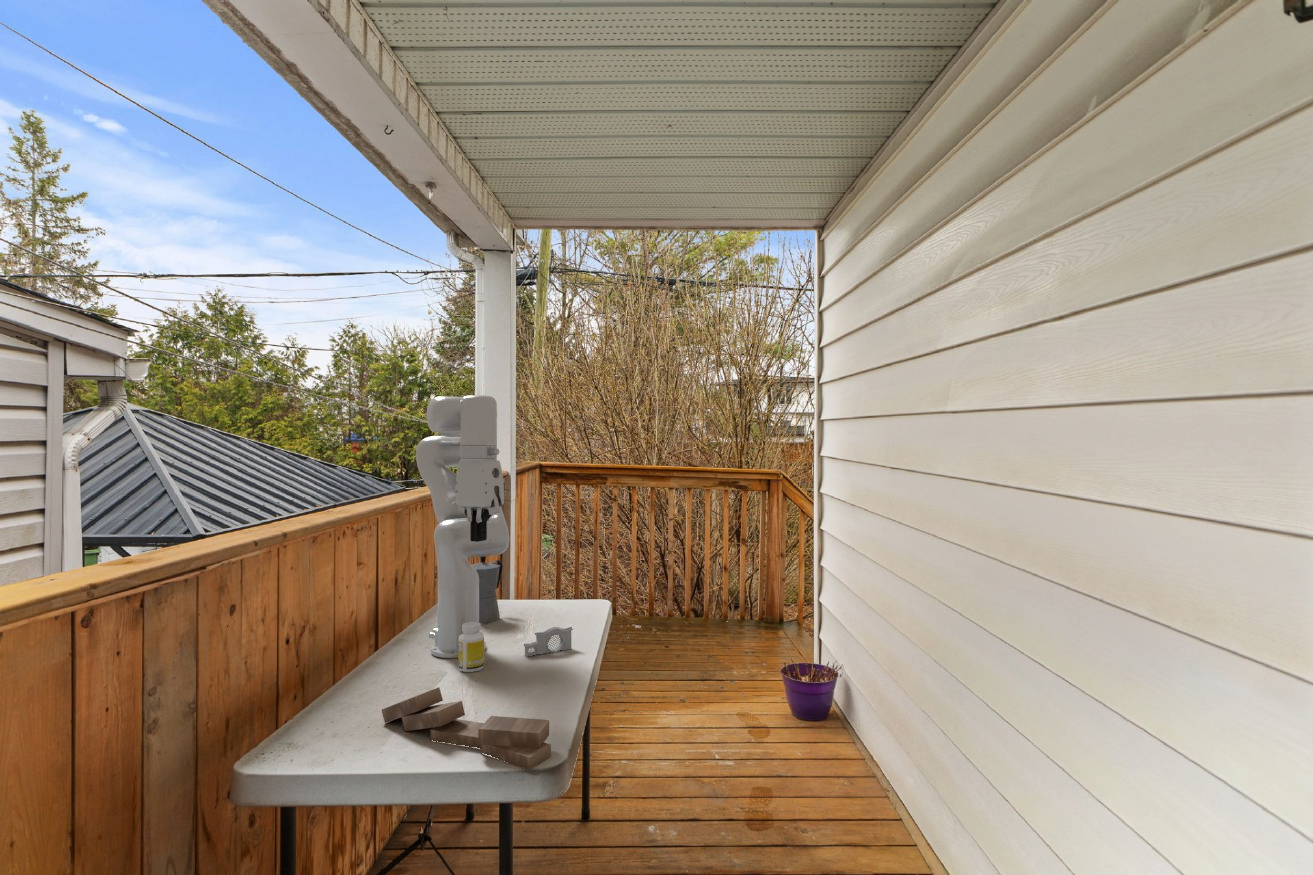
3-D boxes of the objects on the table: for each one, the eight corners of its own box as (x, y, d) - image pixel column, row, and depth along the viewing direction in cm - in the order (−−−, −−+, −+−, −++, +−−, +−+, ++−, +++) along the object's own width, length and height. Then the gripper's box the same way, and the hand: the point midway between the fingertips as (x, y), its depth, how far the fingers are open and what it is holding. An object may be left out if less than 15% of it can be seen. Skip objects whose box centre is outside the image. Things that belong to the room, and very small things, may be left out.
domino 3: (430, 730, 108) (482, 738, 105) (449, 718, 113) (499, 725, 109) (430, 744, 108) (482, 753, 105) (449, 732, 113) (499, 739, 109)
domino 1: (381, 709, 115) (415, 696, 111) (405, 700, 120) (439, 687, 115) (384, 723, 115) (419, 710, 110) (408, 713, 119) (443, 700, 115)
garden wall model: (525, 658, 150) (525, 632, 150) (523, 656, 152) (523, 630, 152) (573, 649, 157) (573, 624, 157) (569, 647, 158) (569, 623, 158)
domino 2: (401, 717, 112) (438, 711, 107) (425, 707, 116) (462, 700, 111) (404, 731, 112) (441, 726, 107) (428, 720, 116) (465, 715, 111)
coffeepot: (482, 627, 176) (482, 560, 176) (454, 623, 180) (454, 558, 180) (515, 613, 190) (515, 552, 191) (488, 610, 194) (488, 550, 194)
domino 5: (481, 742, 103) (529, 757, 98) (504, 730, 108) (550, 744, 102) (481, 757, 103) (529, 773, 98) (504, 744, 107) (550, 759, 102)
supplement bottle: (488, 666, 145) (488, 622, 145) (474, 674, 140) (474, 628, 140) (468, 663, 147) (468, 620, 147) (453, 671, 141) (453, 626, 142)
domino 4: (478, 728, 103) (539, 733, 101) (491, 715, 107) (549, 720, 106) (478, 744, 102) (539, 748, 101) (491, 730, 107) (549, 734, 106)
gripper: (517, 453, 137) (517, 540, 137) (465, 453, 144) (465, 536, 144) (492, 454, 131) (493, 545, 130) (439, 454, 138) (439, 540, 137)
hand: (478, 540), depth 137 cm, fingers closed
